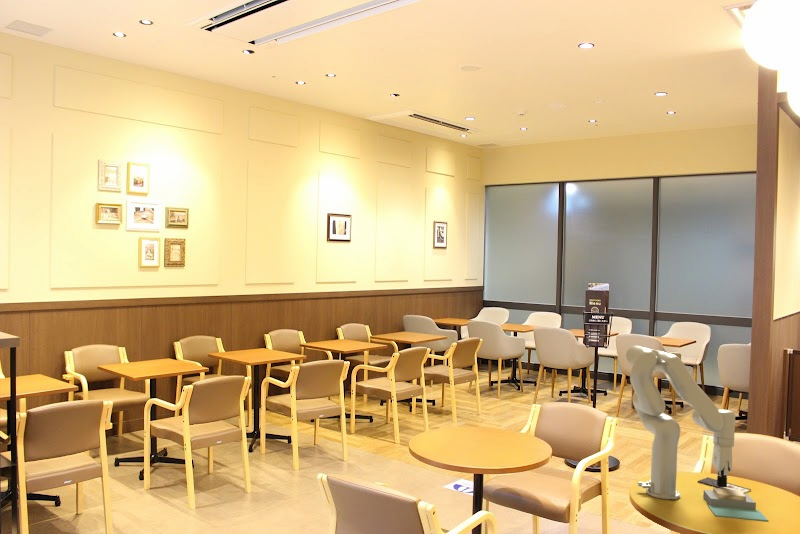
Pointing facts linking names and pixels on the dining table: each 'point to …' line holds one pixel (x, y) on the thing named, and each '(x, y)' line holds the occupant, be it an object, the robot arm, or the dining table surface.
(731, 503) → the gray block
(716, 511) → the teal mat
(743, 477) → the dining table surface
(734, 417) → the robot arm
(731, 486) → the chocolate bar
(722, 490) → the brass tile
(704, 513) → the dining table surface
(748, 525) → the dining table surface
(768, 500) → the dining table surface
